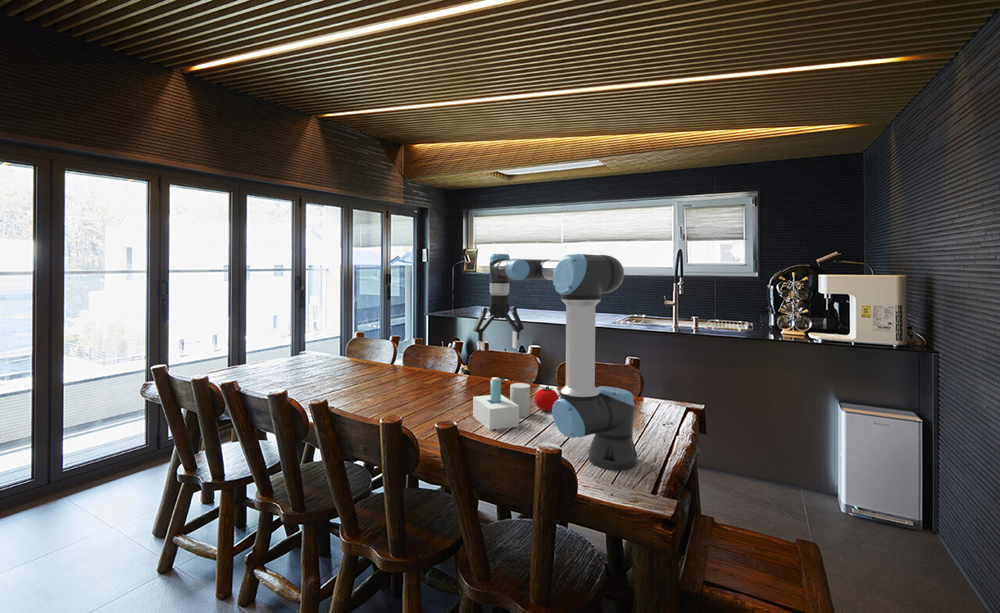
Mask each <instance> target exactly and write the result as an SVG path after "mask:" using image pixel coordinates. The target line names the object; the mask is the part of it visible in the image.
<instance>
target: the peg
mask: <svg viewBox="0 0 1000 613" xmlns="http://www.w3.org/2000/svg"><path fill="white" fill-rule="evenodd" d="M490 395H491V404H495V403H501V395H502V380H501V378H500V377H498V376H497V377H496V376H495V377H491V379H490Z"/></svg>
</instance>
